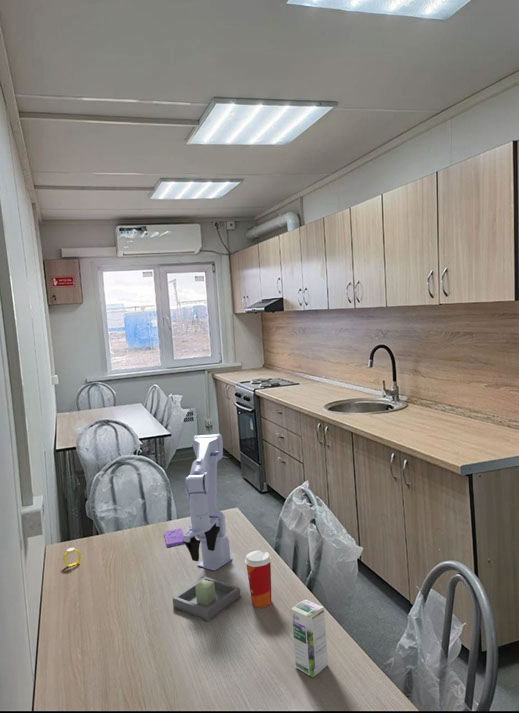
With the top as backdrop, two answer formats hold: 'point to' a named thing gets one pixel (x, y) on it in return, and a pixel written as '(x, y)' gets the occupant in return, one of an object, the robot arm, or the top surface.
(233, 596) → the tray
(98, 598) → the top surface
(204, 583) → the green block
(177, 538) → the sponges
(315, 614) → the syrup box
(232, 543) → the top surface
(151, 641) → the top surface
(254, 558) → the pill bottle
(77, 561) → the gold ring
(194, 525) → the robot arm
